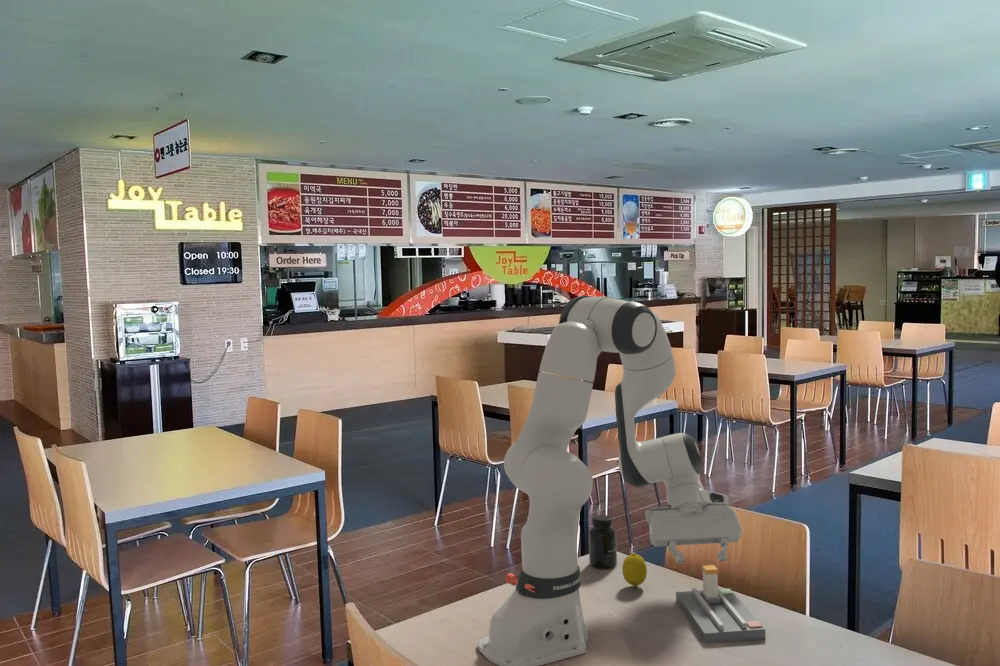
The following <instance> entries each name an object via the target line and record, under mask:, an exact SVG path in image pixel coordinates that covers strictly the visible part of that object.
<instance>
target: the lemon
mask: <svg viewBox="0 0 1000 666" xmlns="http://www.w3.org/2000/svg"><path fill="white" fill-rule="evenodd" d="M622 563H623V564H622V568H621V569H622V575H623V579H624V581H626V583H628V584H629V585H631V586H632V587H634V588H637V587H638V586H640V585H642V584H643V583H644V582H645V580H646V578H647V574H648V569H647V564H646V561H645V559H644V558H643V557H642V556H641V555H639V554H637V553H636V552H632V553H631V554H628V555H627V556H626V557H625V558H624V560H623V562H622Z"/></svg>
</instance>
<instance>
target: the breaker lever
mask: <svg viewBox="0 0 1000 666" xmlns="http://www.w3.org/2000/svg"><path fill="white" fill-rule="evenodd" d="M701 568H702V569H701V570H702V589H703V592H701V596H702V597H703V599H704V600H705V601H706V602H707V604H713V603H721V598H720V597H719V596H718V589H719V588H718V587H719V585H718V584H719V583H718V582H719V581H718V580H719V579H718V574H719V569H718V568H717V566H715V564H704V565H701Z"/></svg>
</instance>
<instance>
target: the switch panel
mask: <svg viewBox="0 0 1000 666" xmlns="http://www.w3.org/2000/svg"><path fill="white" fill-rule="evenodd" d="M701 592H703V590H697V588H694V587H693V588H691V590H689V591H686V590H685V591H676V592H675V602H676V603H677V604H678V607H680V609H681V610H682V612H683V613H684V615H685V617H686V618H687V619H688V620H689V622H690V624H691V625H692V627H693V628H694V630H695V631H696V632H697V634H698V635H699V637H700V639H701V640H702V641H703V643H704V644H714V643H715V644H717V643H729V642H730V643H731V642H740V641H742V642H743V641H755V640H757V641H758V640H766V628H765V627H764V626H763V625H762V623H760V621H759V620H758V619H757V618H756V617H755V616H754V615H753V613H752V612H751V610H749V609H748V608H747V606H746V605H745V604H744V602H742V600H741V599H740V598H739V597H738V596H737V594H735V593H734V591H732V589H731V588H730V587H729V588H718V596H719V597H720V598H721V603H713V604H707V602H706V601H705V600H704V599H703V597H702V596H701Z"/></svg>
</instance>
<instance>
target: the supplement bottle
mask: <svg viewBox="0 0 1000 666" xmlns="http://www.w3.org/2000/svg"><path fill="white" fill-rule="evenodd" d="M591 518H592V519H591V525H592V526H591V527H590V529H589V530H588V556H589V558H588V559H589V561H588V562H589V566H591V567H592V568H594V569H596V570H597V569H598V570H608V569H609V570H610V569H613V568H614V567H616V566H617V563H618V555H617V554H618V552H617V551H618V549H617V531H616V529H615V528H614V527H613V519H612V516H610V515H607V514H598V515H594V516H592V517H591Z"/></svg>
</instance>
